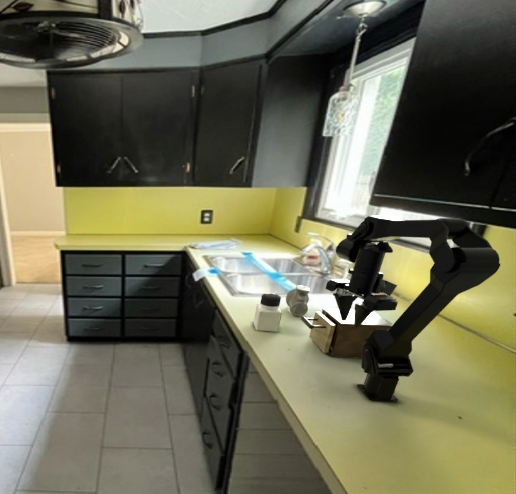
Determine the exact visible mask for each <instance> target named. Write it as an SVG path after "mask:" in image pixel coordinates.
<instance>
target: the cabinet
mask: <svg viewBox="0 0 516 494" xmlns="http://www.w3.org/2000/svg"><path fill="white" fill-rule="evenodd" d="M321 313H322V314H323V315H324V314H325V313H326V314H327V315H328V316H329V317H331V318H332V319H333V320H334V321H335V322H336V323H338V324H339V328H338V331H337V334H336V338H335V341H334V345H333V348H332V351H331V349H330V348H329V350H328V355H330V356H331V357H336V358H353V359H355V358H356V359H362V349H363V346H364V344H365V343H366V341H365V340H366V339H368V338H369V337H370V335H371V334H372V332H373V331H374V330H388V329H389V328H390V327H391V326H392V325H393V324H394V323H392V322H391V321H389V320H387V318H384V317H383V316H381V315H380V314H378V313H377V312H376V311H373V312H372V313H371V314H370V315H369V316H368V317H367V318H366V319H365V321H364V322H363V323H362V324H361V325H360V327H358V328H355V327H354V314H355V309H350V312H349V315H348V317H347V319H346V321H342V320H341V316H340V312H339V308H327V307H326V308H322V310H321Z"/></svg>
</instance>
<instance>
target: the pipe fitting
mask: <svg viewBox="0 0 516 494" xmlns="http://www.w3.org/2000/svg"><path fill="white" fill-rule="evenodd" d="M310 292H311V288H310V287H308V286H307V285H301V284H299V285H296V286H295V288H294V289H291V290H289V292H287V293H286V295H285V303H286V305H287V307H289V311H290V313H291V315H293V316H294V317H298V318H299V317H300V318H301V317H303V316H306V314H307V313H308V310H309V307H308V303H309V301H310V298H309V294H310Z"/></svg>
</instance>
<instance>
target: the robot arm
mask: <svg viewBox="0 0 516 494" xmlns="http://www.w3.org/2000/svg"><path fill="white" fill-rule="evenodd" d="M345 237H346V238H344V239H342V240H341V241H340V242H339V243H338V244H337V245H336V247H335V254H336V256H337V257H338V258H340V259H342V260H345V261H347V262H350V263H352V264H353V268H349V269H348V271H347V273H348V274H349V275H350V279H347V278H333V279H331V278H330V280H328V281H327V282H326V285H325V290H327V291H329V292H332V296H333V297H334V300H335V302H336V304H337V309H339V312H340V316H341V320H342V321H346V319H347V317H348V315H349V312H350V310H352V306H353V304H354V310H355V314H354V327H355V328H358V327H360V325H361V324H362V323H363V322H364V321H365V319H366V318H367V317H368V316H369V315H370V314H371V313H372V312H387V311H396V310H397V308H398V304H399V302H398V300H397V298H395V297H392V294H393V293H394V291H395V290H396V289H397V287H398V285H397V284H395V283H393V282H390V281H389V280H385V279H384V273H383V272H381V269H382V265H383V262H384V259H385V256H386V254H393V252H394V250H393V248H392V246H391V245H390V243H389V241H394V240H399V239H400V238H419V239H421V238H422V239H429V241H430V247H429V252H428V253H429V256H430V258H431V261H432V262H433V265H432V266H431V268H430V270H429V282H428V284H426V286H425V287H424V289H422V291H421V292H420V293H419V294H418V295H417V297H415V299H414V300H413V301H411V303H410V304H409V306H407V308H406V309H405V310H404V311H403V312H402V314H401V315H400V316H399V317H398V318H397V319H396V320H395V322H394V323H392V324H393V325H392V326H391V327H390V328H389V329H388V330H374V331H373V332H372V334H371V335H370V337H369V338H368V339H366V340H365V341H366V343H365V344H364V346H363V349H362V358H361V365H360V367H361V369H363V373H365V374H366V376H365V378H364V382H363V384H361V383H360V384H359V383H357V384H356V387H357V388H358V389H359V391H360V392H362V393H363V395H364V396H365V397H366V398H367V399H368V400H370V401H378V402H394V403H397V402H399V399H398V398H397V397H396V395H394V393H395V391H396V388H397V386H398V384H399V381H400V378H399V377H405V378H406V377H407V378H408V377H410V376H411V375H412V374H413V373H414V368H413V365H412V362H411V358H410V355H411V353H412V351H413V343H412V342H413V341H414V340H415V339H416V338H417V337H418V336H419V335H420V334H421V333H422V332H423V330H424V329H426V327H427V326H429V324H430V323H431V322H432V321H433V320H435V318H436V317H437V316H438V315H440V313H442V312H443V310H444V309H445V308H446V307H447V306H448V305H450V304H451V302H452V301H453V300H454V299H456V297H457V296H458V295H460V294H462V293H465V292H467V291H470V290H471V289H473V288H476V287H479V286H480V285H482V284H483V283H484V282H485V281H487V280H488V279H490V278H491V277H493V276H494V275H495V274H497V272H498V270H500V267H501V263H500V260H501V259H500V255H499V252H498V251H497V250H496V249H494V248H493V247H492V245H491V244H490V242H489V240H487V239H486V238H485V237H484V236H482V235H481V234H479V233H478V232H477V231H475V230H473V229H472V228H471V226H470V224H469V223H468V221H467V220H465V219H463V218H459V217H440V218H436V219H405V218H404V217H400V216H395V215H368V216H366V217H364V218H363V221H361V223H360V224H359V225H358V226H357V227H356V228H355V230H354V231H353V232H352V233H348V234H346V236H345ZM448 240H450V241H452V243H453V244H454V245H456V246H454V247H453V246H452V247H451V246H450V244H449V242H448ZM357 299H360V300H361V299H362V300H363V301H362V302H361V303H354V302H355V301H356V300H357Z"/></svg>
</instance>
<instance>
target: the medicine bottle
mask: <svg viewBox="0 0 516 494" xmlns="http://www.w3.org/2000/svg"><path fill="white" fill-rule="evenodd" d="M281 300H282V298H281V295H279V294H277V293H274V292H266V293H262V295H261V298H260V302H259V303H260V304H256V306H255V312H254V317H253V325H254V328H255V331H263V332H275V333H278V332H279V329H280V325H281V318H282V315H283V312H282V311H281V309H280V304H281Z"/></svg>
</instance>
